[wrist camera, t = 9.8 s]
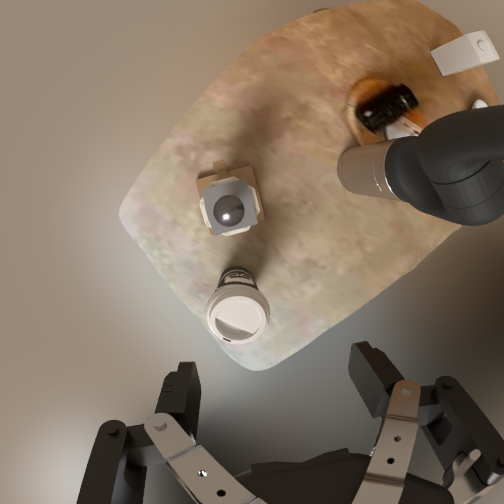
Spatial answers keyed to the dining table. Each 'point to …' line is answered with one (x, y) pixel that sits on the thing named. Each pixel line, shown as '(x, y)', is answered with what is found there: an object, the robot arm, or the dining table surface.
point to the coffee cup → (237, 308)
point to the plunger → (229, 210)
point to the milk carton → (464, 53)
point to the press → (230, 184)
